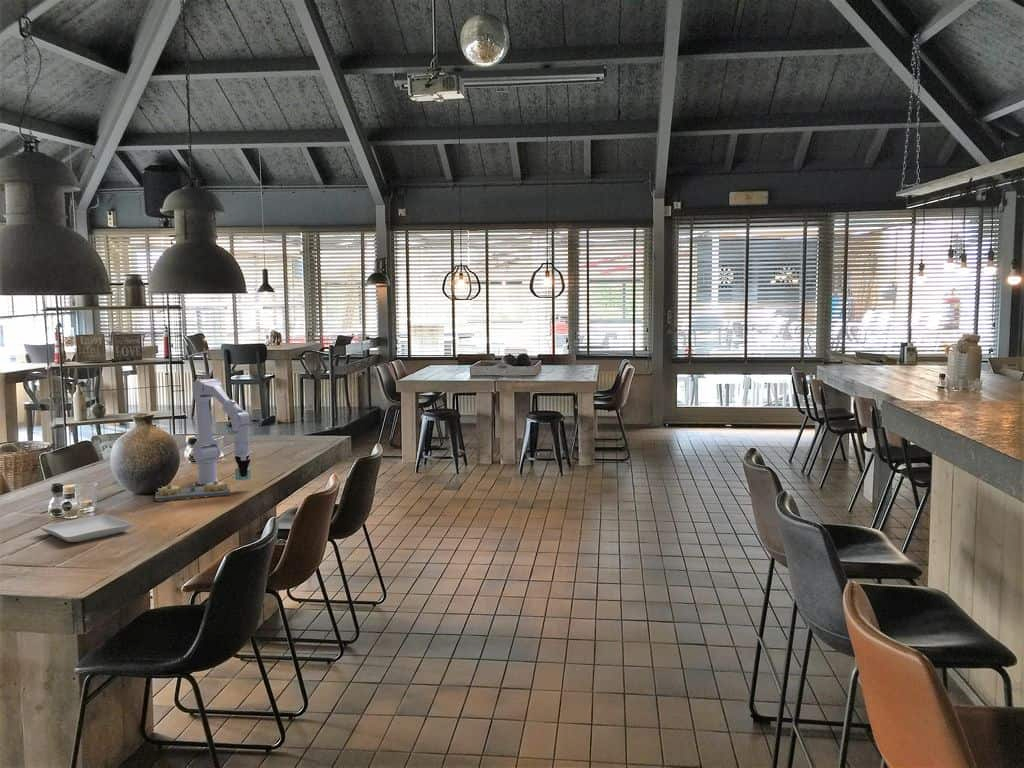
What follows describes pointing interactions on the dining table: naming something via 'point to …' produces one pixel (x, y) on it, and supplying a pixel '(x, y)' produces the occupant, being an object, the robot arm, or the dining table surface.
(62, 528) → the salad plate
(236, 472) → the teal gear
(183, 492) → the gear board
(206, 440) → the robot arm
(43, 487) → the dining table surface
